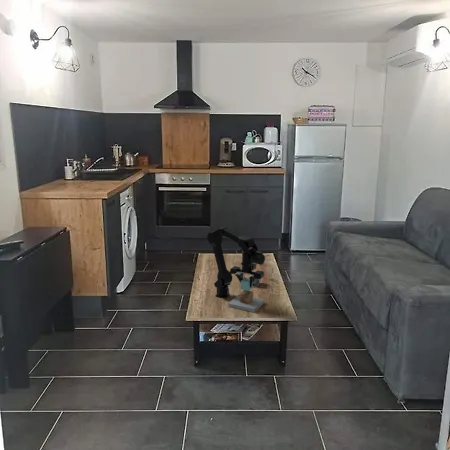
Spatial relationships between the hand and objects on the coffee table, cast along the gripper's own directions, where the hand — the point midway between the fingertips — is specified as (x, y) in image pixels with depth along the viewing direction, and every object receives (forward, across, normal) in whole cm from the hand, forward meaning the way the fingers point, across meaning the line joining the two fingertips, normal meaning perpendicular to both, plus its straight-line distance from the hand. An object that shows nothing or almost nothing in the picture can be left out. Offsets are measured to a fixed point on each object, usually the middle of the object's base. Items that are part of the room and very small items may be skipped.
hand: (246, 286), depth 247 cm
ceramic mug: (+11, +9, -29) cm, 33 cm away
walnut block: (+9, 0, 0) cm, 9 cm away
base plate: (+11, 0, 0) cm, 11 cm away
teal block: (+1, 0, 0) cm, 1 cm away
